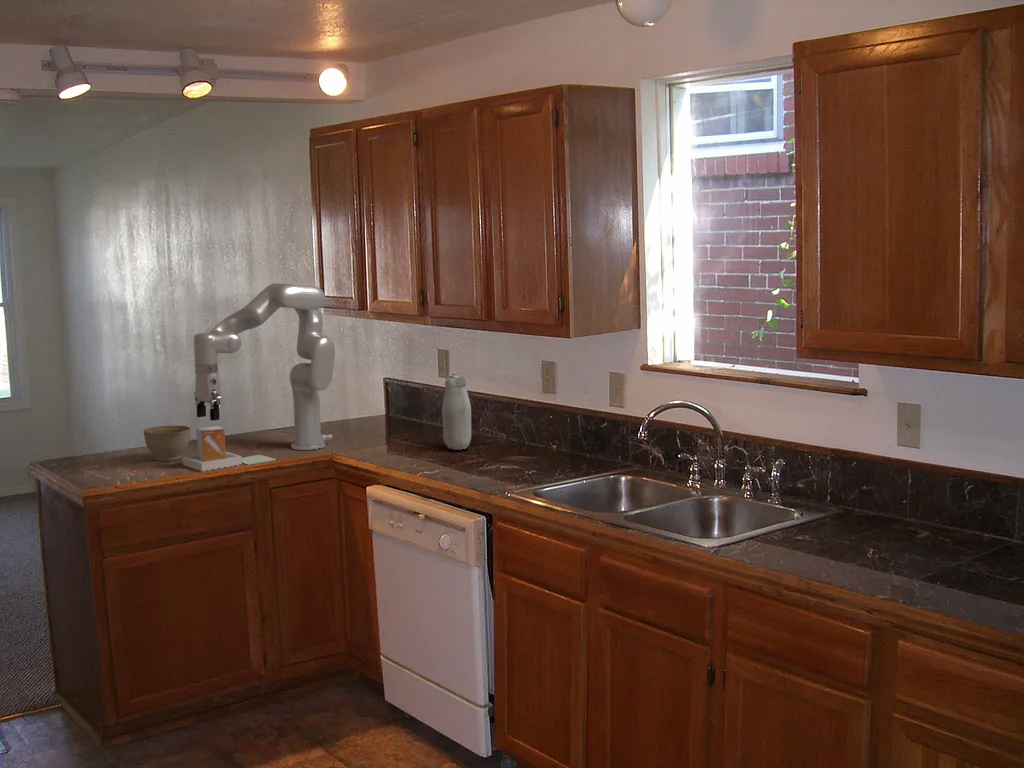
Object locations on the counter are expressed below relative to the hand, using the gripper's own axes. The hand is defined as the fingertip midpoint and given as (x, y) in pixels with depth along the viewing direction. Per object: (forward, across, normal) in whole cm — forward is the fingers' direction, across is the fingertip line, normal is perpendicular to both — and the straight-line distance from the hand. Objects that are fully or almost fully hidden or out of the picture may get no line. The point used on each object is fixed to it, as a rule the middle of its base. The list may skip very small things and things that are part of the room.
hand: (208, 418), depth 372 cm
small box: (+17, 0, -1) cm, 17 cm away
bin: (+16, 0, -1) cm, 17 cm away
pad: (+16, -4, -15) cm, 22 cm away
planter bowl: (+17, +21, +5) cm, 27 cm away
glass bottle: (+15, -43, -76) cm, 89 cm away
